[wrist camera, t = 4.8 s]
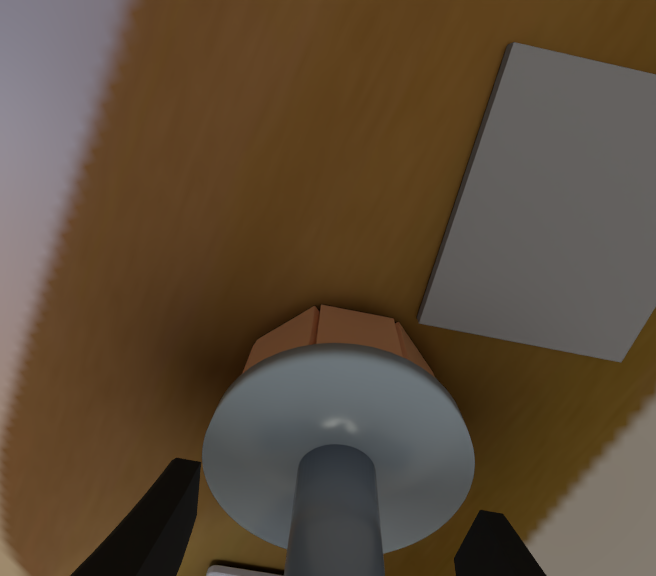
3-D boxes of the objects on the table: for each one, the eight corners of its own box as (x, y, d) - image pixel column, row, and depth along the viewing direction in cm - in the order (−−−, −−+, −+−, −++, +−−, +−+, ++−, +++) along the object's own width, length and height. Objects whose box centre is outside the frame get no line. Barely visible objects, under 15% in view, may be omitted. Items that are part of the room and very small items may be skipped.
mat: (613, 355, 13) (621, 362, 13) (416, 317, 13) (418, 323, 13) (765, 103, 10) (781, 103, 10) (507, 45, 10) (514, 42, 9)
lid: (416, 551, 13) (443, 714, 10) (198, 508, 13) (141, 663, 9) (510, 378, 10) (601, 523, 7) (228, 313, 10) (160, 431, 6)
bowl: (400, 466, 16) (411, 539, 13) (240, 437, 16) (218, 507, 13) (452, 329, 13) (480, 386, 10) (260, 292, 13) (238, 340, 10)
